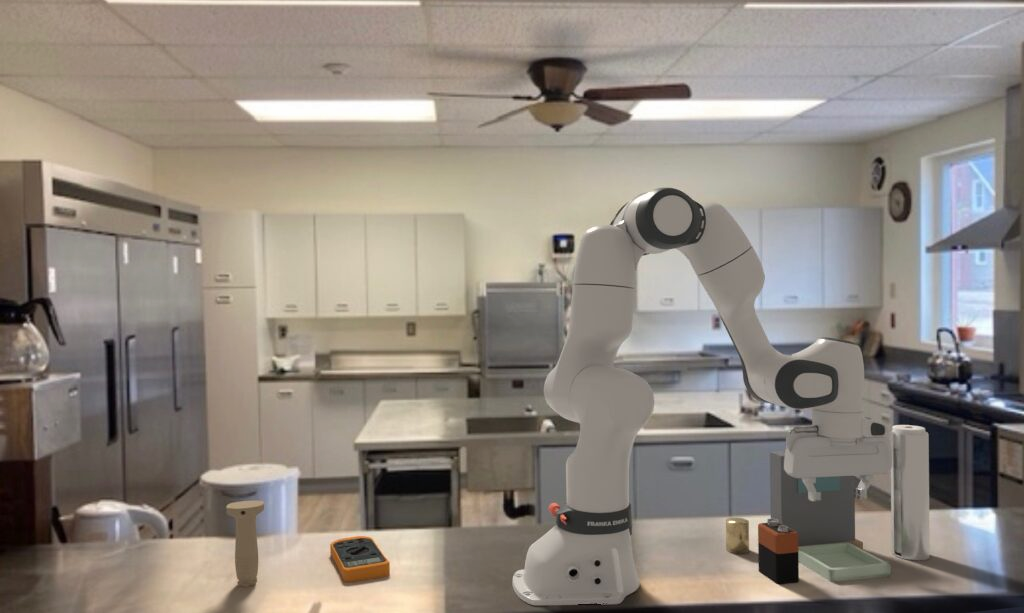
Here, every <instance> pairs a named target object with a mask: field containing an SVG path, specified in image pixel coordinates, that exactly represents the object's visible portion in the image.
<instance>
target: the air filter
mask: <svg viewBox="0 0 1024 613" xmlns="http://www.w3.org/2000/svg"><path fill="white" fill-rule="evenodd" d="M889 435H890V437H889V441H890V443H891V450H892V468H891V470H890V510H891V511H890V517H891V518H890V519H891V520H890V521H891V522H890V523H891V524H890V526H891V528H890V530H891V531H890V532H891V536H890V537H891V539H890V540H891V553H892V554H893V555H894V556H895V557H898V558H900V559H902V560H903V559H904V560H909V561H915V560H918V561H917V562H919V561H920V560H922V561H926V560H929V559H930V553H931V552H930V548H931V547H930V546H931V545H930V462H929V461H930V458H929V457H930V455H929V452H930V449H929V448H930V447H929V446H930V443H929V433H928V432H927V431H926V428H925V427H923V426H919V425H910V424H895V425H893V426H892V429H891V430H890V432H889Z"/></svg>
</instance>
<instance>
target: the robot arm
mask: <svg viewBox="0 0 1024 613" xmlns="http://www.w3.org/2000/svg"><path fill="white" fill-rule="evenodd" d="M675 249H676V250H677V251H679V252H681V253H682V254H683V256H684V257H685V258H686V259H687V260H688V261H689V263H690V265H691V267H692V269H693V271H694V273H695V275H696V276H697V278H698V280H699V281H700V284H701V285H702V288H704V291H706V293H707V295H708V297H709V298H710V300H711V301H712V303H713V305H714V308H716V311H717V313H718V315H719V317H720V319H721V323H722V324H723V326H724V328H725V329H726V332H727V334H728V336H729V338H730V340H731V342H732V344H733V347H734V349H735V350H736V352H737V354H738V357H739V359H740V363H741V364H740V365H741V370H742V379H743V382H744V386H745V389H746V390H747V392H748V393H749V394H750V396H751V397H752V398H753V399H755V400H757V401H759V402H762V403H765V404H772V405H776V406H780V407H785V408H788V409H792V410H804V409H809V408H810V409H812V410H811V411H812V412H811V415H812V416H811V420H812V421H811V422H812V423H811V425H806V426H794V427H792V429H790V430H789V431H788V432H787V433H786V436H785V445H786V447H785V450H784V451H785V458H784V470H785V472H786V473H787V474H788V475H790V476H792V477H794V478H802V481H803V483H804V485H805V486H806V488H807V490H808V499H809V500H810V501H820V500H821V498H820V496H821V492H819V491H817V490H816V489H815V487H814V485H813V483H816V477H836V476H854V477H855V476H858V478H859V479H860V481H859V483H858V485H857V487H855V488H854V497H855V499H857V500H864V499H865V500H866V499H867V496H868V495H867V494H868V489H869V488H870V486H871V484H872V482H873V481H874V477H873V476H875V475H877V476H878V475H887V474H889V473H890V472H891V468H892V450H891V441H890V438H888V436H889V435H890V431H891V430H890V426H889V425H888V424H887V423H885V422H880V421H876V420H874V419H871V418H870V417H868V416H867V417H866V416H865V407H864V403H863V393H864V390H865V364H864V359H863V358H864V356H863V353H862V350H861V347H860V346H859V345H858V344H857V343H855V342H853V341H850V340H847V339H841V338H833V337H825V336H824V337H819V338H817V339H816V341H814V342H813V343H812V344H811V345H809V346H807V347H806V348H804V349H802V350H800V351H798V352H795V353H792V354H791V355H788V354H783V353H781V352H780V351H778V350H777V349H776V348H775V347H773V345H772V344H771V342H770V341H769V339H768V338H769V337H768V336H767V335H766V332H765V330H764V328H763V326H762V324H761V322H760V320H759V318H758V315H757V312H756V310H755V302H756V299H757V297H758V296H759V295H760V294H761V292H762V290H763V287H764V285H765V281H766V280H765V279H766V275H765V272H764V269H763V266H762V263H761V260H760V258H759V256H758V254H757V251H756V250H755V249H754V247H753V245H752V243H751V241H750V240H749V237H748V236H747V235H746V233H745V232H744V231H743V228H741V226H740V225H739V223H738V221H737V220H735V218H734V217H733V216H732V215H731V213H730V212H729V211H728V210H727V209H726V208H725V206H724V205H721V203H717V202H704V203H699V202H697V201H696V200H694V199H693V198H692V197H691V196H689V195H688V194H687V193H685V191H681V190H680V189H677V188H674V187H659V188H658V187H657V188H654V189H652V190H650V191H649V192H644V193H640V194H638V195H637V196H635V197H634V198H632V199H631V200H629V201H628V202H626V203H625V204H623V205H622V206H621V208H620V209H619V210H618V211H617V213H616V214H615V216H614V218H613V219H612V221H610V224H600V225H595V226H593V227H590V228H589V229H587V230H586V231H585V232H584V233H583V235H582V236H581V239H580V242H579V246H578V251H577V254H576V259H575V264H574V270H573V278H572V291H571V303H570V314H569V324H568V329H567V332H566V333H567V334H566V338H565V341H564V344H563V347H562V350H561V353H560V356H559V359H558V360H557V363H556V364H555V367H553V369H551V370H550V371H549V373H548V374H547V376H546V378H545V380H544V385H543V395H544V396H543V397H544V399H545V402H546V404H547V405H548V406H549V408H550V409H552V410H553V411H554V412H555V413H556V414H557V415H559V416H560V417H562V418H563V419H565V420H568V421H571V422H574V423H578V424H579V427H580V428H579V435H578V440H577V443H576V446H575V449H574V451H573V452H572V453H571V454H569V456H568V458H567V459H566V462H565V475H566V476H565V480H566V481H565V482H566V483H565V484H566V488H565V489H566V502H565V503H564V504H562V505H561V506H560V505H559V504H558V503H556V502H552V503H550V504H549V506H548V511H549V513H550V514H551V515H552V516H553V517H555V525H554V526H553V527H552V528H550V530H548V531H547V532H546V533H545V534H543V535H542V536H541V537H540V538H538V539H537V540H536V541H534V542H533V543H532V544H531V545H530V546H529V548H528V550H527V552H526V557H525V562H524V563H525V564H524V569H523V568H522V569H519V570H517V571H515V572H514V574H513V576H512V582H511V584H512V589H513V591H514V592H515V594H516V595H517V597H518V598H519V599H520V600H522V601H523V602H525V603H526V604H528V605H531V606H579V605H578V604H590V603H593V604H594V603H597V604H601V605H618V604H621V603H623V601H624V600H625V598H626V597H627V596H629V595H631V594H633V593H634V592H636V591H637V590H638V589H639V587H640V585H641V584H640V579H639V576H638V573H637V569H636V565H635V560H634V554H633V553H634V552H633V546H632V540H631V539H632V537H631V536H632V535H633V512H632V504H631V503H630V497H629V496H630V486H629V484H630V468H629V467H630V461H631V455H632V450H633V447H634V443H635V440H636V438H637V435H638V433H639V432H640V430H641V429H643V427H645V426H646V425H647V424H648V423H649V421H650V419H651V417H652V415H653V414H654V413H653V412H654V409H655V396H654V392H653V389H652V387H651V385H650V384H649V383H648V382H647V380H646V379H644V378H643V377H642V376H640V375H638V374H635V373H634V372H632V371H630V370H628V369H626V368H622V367H615V366H614V363H615V360H616V356H617V354H618V352H619V349H620V347H621V346H622V344H623V343H624V341H626V340H627V339H628V338H629V337H630V335H631V333H632V330H633V320H634V307H635V306H634V304H635V294H636V293H635V292H636V290H635V288H636V271H637V268H638V264H639V262H640V260H641V258H642V257H643V256H647V255H650V254H651V255H656V254H663V253H664V252H668V251H670V250H675ZM603 603H604V604H603ZM606 603H607V604H606Z"/></svg>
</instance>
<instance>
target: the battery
mask: <svg viewBox="0 0 1024 613" xmlns="http://www.w3.org/2000/svg"><path fill="white" fill-rule="evenodd" d="M757 540H758V544H757V547H758V548H757V549H758V554H757V555H758V557H757V558H758V572H759V573H761V574H762V575H763V576H764V577H766V578H768V579H769V580H770V581H772V582H773V583H775V584H776V585H787V584H797V583H799V581H800V568H799V564H800V563H799V560H798V533H797V532H795V531H794V530H792V529H790V528H788V527H787V526H785V525H783V524H781V523H779V522H778V520H777V519H773V518H771V517H770V518H767V521H766V522H761V523H758V525H757Z"/></svg>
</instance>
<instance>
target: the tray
mask: <svg viewBox="0 0 1024 613" xmlns="http://www.w3.org/2000/svg"><path fill="white" fill-rule="evenodd" d="M798 560H799V564H801V565H803V566H804V567H806V568H807V569H809V570H811V571H812V572H814V573H815V574H818V575H819V576H820V577H822V578H824V579H825V580H827V581H829V582H830V583H831V582H842V581H851V580H853V581H854V580H862V579H871V578H872V579H873V578H882V577H884V578H885V577H891V574H892V572H891V569H892V568H891V563H890V562H887V561H885V560H884V559H881V558H879V557H877V556H875V555H874V554H872V553H869V552H867V551H866V550H864V549H863V550H862V549H860V548H858V547H856V546H854V545H852V544H851V543H849V542H845V543H834V544H823V545H812V546H801V547H798Z"/></svg>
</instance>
